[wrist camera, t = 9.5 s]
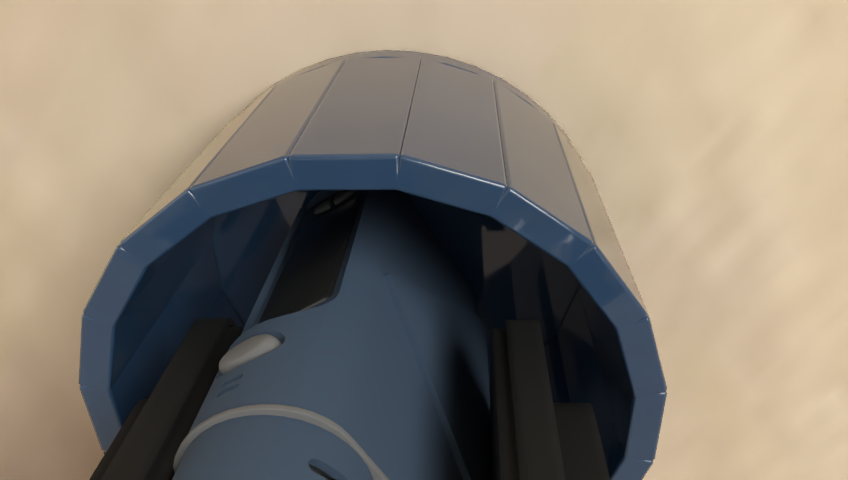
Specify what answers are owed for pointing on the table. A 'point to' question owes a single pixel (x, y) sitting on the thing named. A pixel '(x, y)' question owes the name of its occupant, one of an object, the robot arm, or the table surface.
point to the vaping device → (351, 358)
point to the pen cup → (433, 197)
